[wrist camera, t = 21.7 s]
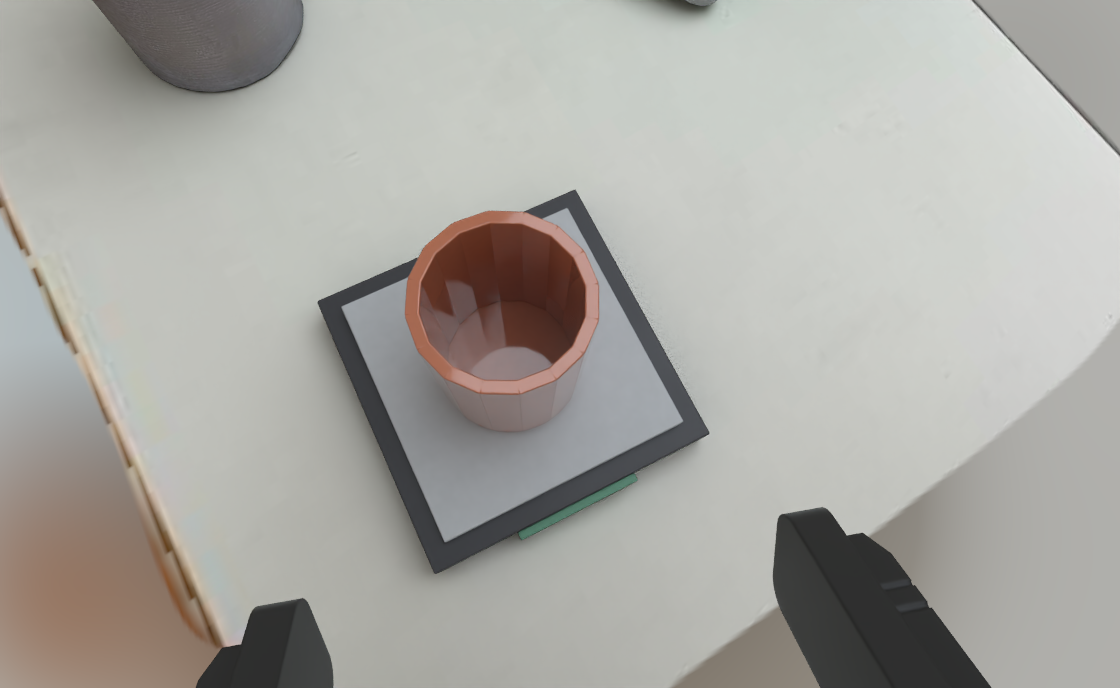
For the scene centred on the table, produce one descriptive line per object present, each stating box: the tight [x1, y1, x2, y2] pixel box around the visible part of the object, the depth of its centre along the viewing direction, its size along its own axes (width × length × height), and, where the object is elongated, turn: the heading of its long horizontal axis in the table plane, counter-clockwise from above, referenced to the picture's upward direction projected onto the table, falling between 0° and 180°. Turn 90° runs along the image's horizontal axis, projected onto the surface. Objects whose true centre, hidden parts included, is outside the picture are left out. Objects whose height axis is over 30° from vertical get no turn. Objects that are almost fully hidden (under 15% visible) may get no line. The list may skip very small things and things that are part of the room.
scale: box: [318, 190, 709, 574], centre depth 33 cm, size 14×14×3 cm
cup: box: [404, 211, 599, 433], centre depth 28 cm, size 7×7×9 cm
